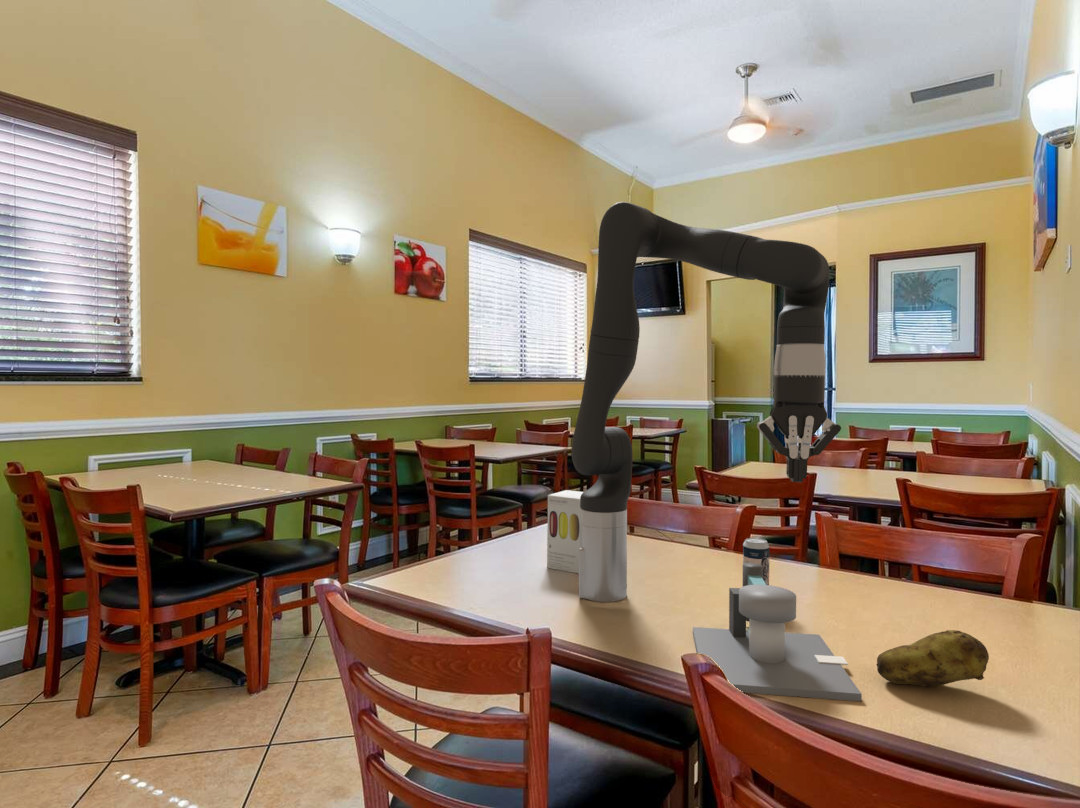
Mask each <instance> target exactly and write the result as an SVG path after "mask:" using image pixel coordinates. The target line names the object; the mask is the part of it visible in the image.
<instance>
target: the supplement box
mask: <svg viewBox="0 0 1080 808" xmlns="http://www.w3.org/2000/svg"><path fill="white" fill-rule="evenodd" d="M583 492H584V491H578V490H577V491H576V490H570V489H565V490H561V491H558V492H554V493H550V494H548V495H547V529H546V530H547V536H546V537H547V538H546V539H547V544H546V545H547V547H546V558H547V559H546V568H548V569H553V570H557V571H562V572H569V573H574V574H577V575H579V548H580V497H581V495H582V493H583Z"/></svg>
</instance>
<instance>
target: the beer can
mask: <svg viewBox="0 0 1080 808" xmlns="http://www.w3.org/2000/svg"><path fill="white" fill-rule="evenodd" d="M744 563H756V564H760V565H762V566H763V580H764V582H765V583H766V585H770V545H769V544H768V541H767V540H766V539H764V538H756V537H747V538H746V539H744V541H743V543H742V565H743V564H744Z"/></svg>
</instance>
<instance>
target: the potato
mask: <svg viewBox="0 0 1080 808" xmlns="http://www.w3.org/2000/svg"><path fill="white" fill-rule="evenodd" d="M989 658H990V655H989V652H988V649H987V648H986V646H985V644H984V643H983V642H981V640H979V638H976V637H974V636H973V635H971V634H968V633H966V632H963V631H961V630H954V629H953V630H951V629H950V630H947V629H946V630H945V631H939V632H936V633H931V634H929V635H927V636H925V637H922V638H920V639H918V640H917V641H914V642H913V643H910V644H906V645H900V646H896V647H893V648H890V649H887V650H884V651H883V652H882V653H881V652H880V654H879V655H878V656H877V658H876V669H877V672H878V675H880V676H881V677H882V678H883V679H884V680H886V681H889V682H890V683H893V684H896V685H912V686H913V685H914V686H919V687H920V686H922V687H936V686H937V687H938V686H944V685H948V684H951V683H955V682H959V681H967V680H968V681H969V680H973V679H975V680H978V681H982V680H984V679H985V677H984V674H985V671H986V670H987V665H988V663H989V660H990V659H989Z"/></svg>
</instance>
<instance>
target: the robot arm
mask: <svg viewBox="0 0 1080 808" xmlns="http://www.w3.org/2000/svg"><path fill="white" fill-rule="evenodd" d="M597 254H598V255H597V258H598V259H597V278H596V279H597V280H596V289H595V290H596V291H595V295H594V306H593V316H592V320H591V326H590V327H591V328H590V335H589V340H588V341H589V343H588V350H587V362H586V370H585V374H584V375H585V376H584V381H583V382H584V383H583V390H582V396H581V400H580V401H581V402H580V406H579V410H578V414H577V418H576V422H575V426H574V427H575V428H574V431H573V437H572V442H571V460H572V464H573V466H574V469H575V470H576V471H577V472H578V473H579V474H581V475H583V476H597V480H596V482H595V483H594V484H593V485H592V486H591V487H590V488H588V489H586V490H585V491H582V492H583V493H582V495H581V497H580V548H579V574H578V598H579V599H586V600H589V601H594V602H602V603H605V602H606V603H610V602H617V601H621V600H622V601H623V600H624V599H626V597H627V595H628V590H627V589H628V581H627V580H628V579H627V578H628V576H627V575H628V501H629V498H630V496H631V491H632V474H633V445H632V441H631V438H630V436H629V435H628V433H627V432H626V430H624V429H623V428H621V427H617V426H610V427H609V426H607V419H608V415H609V412H610V409H611V405H612V403H613V401H614V400H615V398H616V396H617V394H618V393H619V392H620V391H621V389H622V387H623V386H624V384H625V383H626V382H627V380H628V379H629V377H630V376H631V373H632V371H633V369H634V367H635V365H636V360H637V356H638V355H637V354H638V349H639V339H640V331H641V330H640V329H641V328H640V319H639V312H638V307H637V303H636V298H635V290H634V281H635V280H634V279H635V273H636V266H637V259H638V258H653V259H655V258H657V259H658V258H659V259H666V260H667V259H668V260H675V261H678V262H679V261H680V262H684V263H687V264H691V265H693V266H695V267H696V266H697V267H698V268H702V269H705V270H708V271H710V272H713V273H718V274H721V275H726V276H730V277H734V278H738V279H742V280H743V279H744V280H747V281H748V280H749V281H750V280H751V281H754V280H757V281H761V282H765V283H768V284H772V285H775V286H778V287H783V290H784V291H783V304H782V306H783V307H782V310H781V311H780V312H779V314H778V317H777V324H776V326H777V327H776V350H775V356H774V365H773V375H774V376H773V405H772V408H771V410H770V412H769V416H768V417H767V418H765V419H763V420H762V421H758V422H757V423H756V428H757V429H758V431H759V432H760V434H762V435H763V437H764V439H765V440H766V441H767V442H768V443H769V445H770V446H771V447H772V449H773V450H774V451H775V452H776V453H777V454H780V455H783V456H785V458H786V468H785V469H786V471H785V473H786V476H787V478H789V480H790V482H792V483H803V482H804V480H805V479H807V476H808V460H809V459H810V458H811V457H814V456H819V455H820V454H821V453H822V452H824V450H825V449H826V447H828V446H829V444H830V443H831V442H832V441H833V439H835V437H836V436H838V434H839V433H840V431H841V430H842V426H841V425H840V424H838V423H835V422H834V421H832V420H831V419H830V418H828V412H827V411H826V408H825V407H826V406H825V398H826V397H825V395H826V392H825V391H826V352H825V329H826V327H825V326H826V323H825V311H826V307H827V306H826V305H827V301H828V294H829V288H830V266H829V263H828V260H827V259H826V257H825V256H824V255H823V254H822V253H821V252H820V251H818V250H817V249H816V248H814V247H813V246H811V245H809V244H805V243H801V242H800V243H799V242H795V241H789V240H781V239H779V240H778V239H766V238H762V237H759V236H754V235H749V234H746V233H745V234H744V233H739V232H735V231H729V230H722V229H715V228H713V229H712V228H704V227H703V228H702V227H694V226H689V225H684V224H681V223H677V222H675V221H672V220H669V219H667V218H665V217H662V216H660V215H658V214H656V213H654V212H652V211H651V210H649V209H647V208H645V207H643V206H640V205H638V204H634V203H631V202H627V201H619V202H615V203H614V204H612V205H611V206H610V207H609V208H608V209H607V210H606V212H604V215H603V216H602V219H601V222H600V226H599V231H598V252H597ZM774 424H775V426H776V427H777V428H778V430H779V431H780V432H781V434H782V435H784V443H785V446H784V445H783V444H782V442H781V441H780V440H779V439H778V438H777V436H776V435H775V433H773V432H774V431H775V427H774ZM821 426H822V427H821ZM820 428H821V432H822V433H821V434H820V435H819V436H818V437H817V438H816V440H815V441H814V442H813V443H812V436H814V435H815V434H816V432H818V430H819V429H820Z"/></svg>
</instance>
